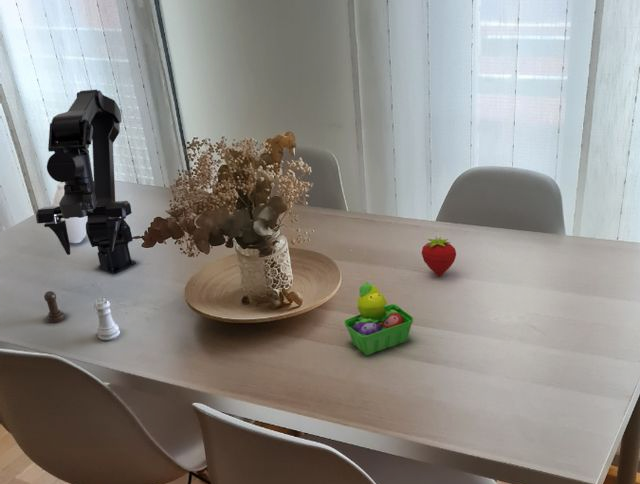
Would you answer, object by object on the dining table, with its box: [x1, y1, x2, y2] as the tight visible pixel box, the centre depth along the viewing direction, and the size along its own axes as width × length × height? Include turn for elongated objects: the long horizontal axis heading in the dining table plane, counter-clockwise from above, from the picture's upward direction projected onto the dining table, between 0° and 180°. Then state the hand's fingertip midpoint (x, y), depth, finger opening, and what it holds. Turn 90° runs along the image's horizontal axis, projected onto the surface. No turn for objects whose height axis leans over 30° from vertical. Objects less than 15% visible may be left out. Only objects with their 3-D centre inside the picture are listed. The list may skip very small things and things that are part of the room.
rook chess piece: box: [93, 297, 121, 342], centre depth 173 cm, size 4×4×8 cm
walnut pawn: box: [43, 290, 65, 324], centre depth 182 cm, size 3×3×6 cm
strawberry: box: [421, 236, 457, 277], centre depth 183 cm, size 6×8×10 cm
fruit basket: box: [343, 282, 414, 356], centre depth 161 cm, size 11×9×11 cm
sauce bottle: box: [52, 182, 88, 244], centre depth 213 cm, size 8×8×18 cm
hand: (90, 253), depth 183 cm, fingers open, 9 cm apart
